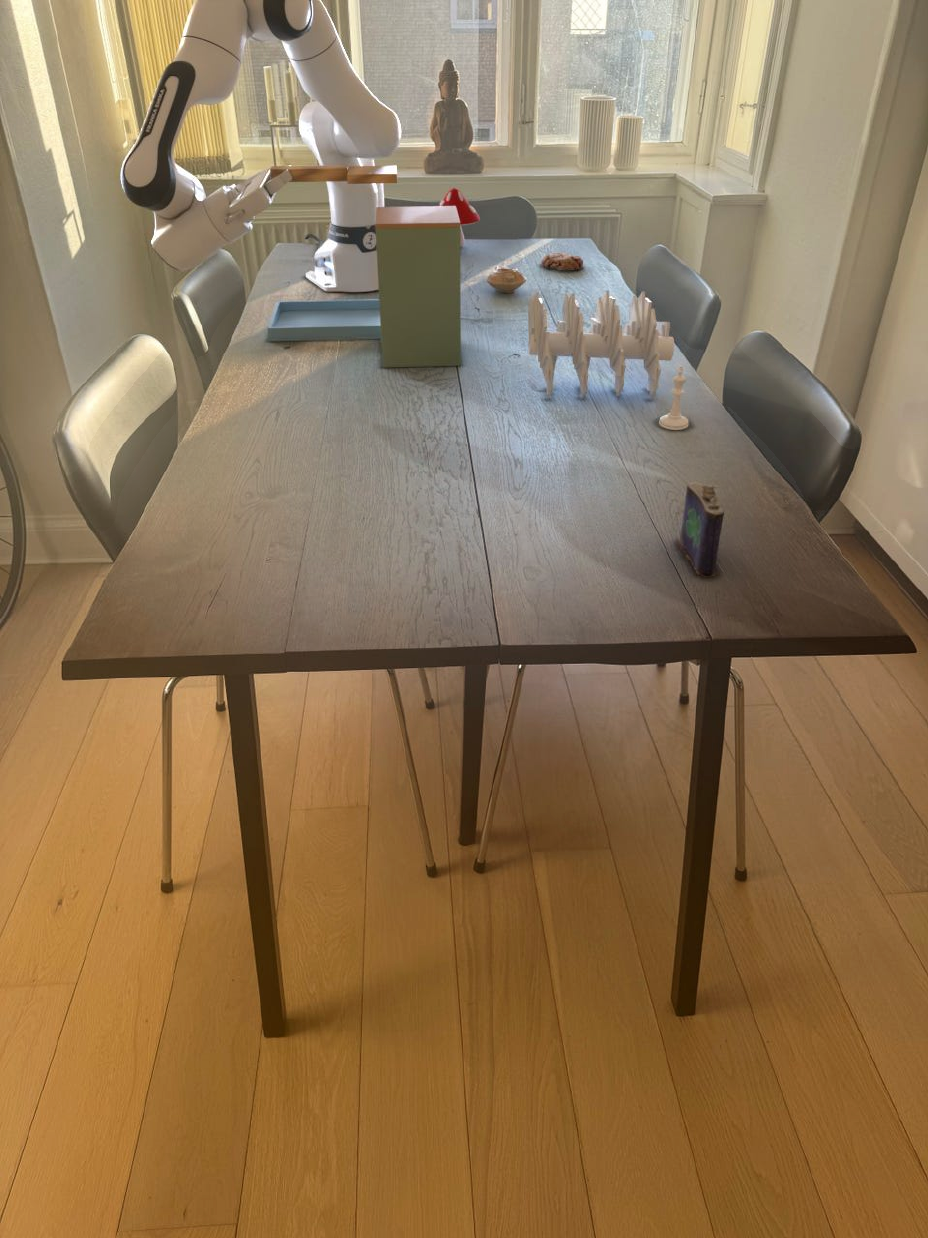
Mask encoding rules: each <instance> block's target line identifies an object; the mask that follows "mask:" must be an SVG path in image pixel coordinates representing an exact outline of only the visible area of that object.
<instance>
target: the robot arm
mask: <svg viewBox="0 0 928 1238" xmlns="http://www.w3.org/2000/svg"><path fill="white" fill-rule="evenodd" d="M247 41H253V42H261V43H263V42H275V41H276V42H277V41H281V43H282V46H283V48H284V51H285V53H286V55H287V57H288V60H289V61H290V64H291V66H292V68H293V70H294V72H295V75H296V77H297V80H298V81H299V83H300V86H301V88H302V90H303V92H305V94H306V95H307V96H308V97H309V98H311V99H312V100H313V101H310V102H308V103H306V104H305V106H303V108H302V110H301V111H300V114H299V119H298V131H299V134H300V138H301V140H302V142H303V143H304V144H305V145H306V146H307V147H308V148H309V149H310V151H311V152H312V153H313V155H314V157H315V158H316V160H317V162H318V164H319V166H331V165H348V166H362V165H361V163H360V160H359V158H363V159H374V160H379V159H385V158H389V157H392V156H393V155H394V154H395V153H396V151H397V150H398V148H399V146H400V142H401V138H402V128H401V123H400V120H399V118H398V115H397V114H396V113H395V112H394V110H393V109H391V108H389V107H388V106H386V105H385V104H384V103H382V102H381V101H380V100H379V99H378V98H377V97H376V96H375V95H374V94H373V93H372V92H371V91H370V90H369V88H368V86H367V85H366V84H365V83H364V82H363V81H362V79H361V78H360V77H359V75H358V74H357V72H356V71H355V69H354V68H353V65H352V64H351V62H350V60H349V58H348V55H347V53H346V50H345V49H344V46H343V44H342V41H341V39H340V37H339V34H338V32H337V29H336V27H335V24H334V23H333V21H332V18H331V17H330V14H329V13H328V11H327V8H326V7H325V5H324V3H323V2H322V0H194V1H193V3H192V6H191V7H190V10H189V13H188V16H187V18H186V20H185V24H184V27H183V31H182V35H181V38H180V42H179V46H178V49H177V52H176V55H175V57H174V59H173V61H172V62H170V63H168V65H167V66H166V67H165V69H164V70H163V72H162V74H161V76H160V78H159V80H158V81H157V82H158V83H157V85H156V88H155V90H154V93H153V96H152V98H151V101H150V104H149V106H148V109H147V112H146V114H145V117H144V120H143V121H142V122H143V123H142V126H141V128H140V131H139V133H138V136H137V138H136V140H135V142H134V144H133V145H132V147H131V148H130V150H129V151H128V153H127V154H126V156H125V158H124V160H123V162H122V165H121V168H120V183H121V187H122V190H123V192H124V194H125V196H126V197H127V199H128V200H129V201H130V202H132V203H133V204H134V205H136V206H139V207H140V208H143V209H146V210H149V211H151V212H152V213H153V214H154V215H153V216H154V234H153V237H152V239H151V246H152V248H153V250H154V252H155V254H157V256H158V257H159V258H160V259H161V261H163V262H164V263H165V264H166V265H167V266H168V267H170V268H172V269H174V270H176V271H179V272H185V271H188V270H191V269H193V268H195V267H197V266H200V264H202V263H204V262H206V261H208V260H209V259H211V258H212V257H214V256H215V255H216V254H217V253H218V251H219V250H220V249H221V248H224V247H225V246H229V245H231V244H233V243H234V242H236V241H238V240H239V239H240V238H242V237H244V236H245V235H246V234H248V233H250V232H251V231H252V230H253V229H254V228H253V227H254V226H253V221H254V220H256V218H257V216H258V215H260V214H261V213H263V212H264V211H266V210H267V209H268V208H270V206H271V205H272V203H273V202H274V199H275V197H276V195H277V193H278V192H279V191H280V190H282V188H283V187H284V186H286V185H287V184H288V183H290V182H289V181H291V180H292V178H293V176H292V174H291V172H290V171H289V170H285V171H283V172H282V173H281V174H280V175H278V176H276V177H275V178H273V179H272V180H271V176H270V168H271V167H268V168H266V169H263V170H262V171H259V172H258V173H256V174H254V175H252V176H250V177H248V178H247V179H245V180H243V181H241V182H239V183H238V184H235V183H232V184H230V185H222V186H221V187H219V188H218V189H216V190H215V191H213V192H212V193H210V194H209V195H207V193H206V190H205V188H204V186H203V184H202V183H201V182H200V180H199V179H198V178H197V177H196V176H195V175H194V174H192V173H191V172H189V171H188V170H187V169H185V168H183V167H182V166H180V165H179V164H177V163H176V160H175V158H174V157H175V156H174V151H175V148H176V145H177V142H178V139H179V136H180V134H181V131H182V129H183V125H184V123H185V120H186V117H187V115H188V113H189V111H190V110H192V108H194V107H195V106H197V105H202V106H203V105H204V106H212V105H217V104H220V103H222V102H224V101H226V100H227V99H228V98H230V96H231V95H232V93H233V91H234V89H235V87H236V85H237V81H238V78H239V75H240V70H241V65H242V63H243V58H244V52H245V47H246V43H247ZM287 166H292V165H290V164H288V165H287ZM325 183H326V187H327V192H328V193H327V194H328V201H329V209H330V210H329V211H330V222H327V223H325V225H327V226H326V227H325V228H326V229H328V233H327V239H326V240H325V241H323V240H322V239H321V238H319V236H317V235H315V234H313V233H307V234H306V235H305V237H304V240H309V238H312V239H313V240H314V241H316V242H317V243H318V245H317V250H316V251H315V253H314V258H313V264H314V269H312V270H309V271H307V272H305V278H306V279H307V280H309V281H310V282H312V283H313V284H315V285H316V286H317V287H319V288H320V289H322V290H323V291H325V292H331V293H333V292H343V293H365V292H374V291H379V287H378V267H377V248H376V228H375V221H376V207H378V193H377V187H376V184H348V183H347V181H326V182H325Z"/></svg>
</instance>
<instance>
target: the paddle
mask: <svg viewBox="0 0 928 1238" xmlns="http://www.w3.org/2000/svg"><path fill="white" fill-rule="evenodd" d="M269 168H270V176H271V180H272V179H273V178H275V177H276V176H278V175H280V174H281V173H282V172H283V171H285V170H289V171H290V172H291V174H292V176H293V178H292V180H291V181H289V182H288V183H312V182H313V183H314V182H315V183H316V182H318V183H319V182H321V183H322V182H323V183H324V182H325V183H326V181H347V183H348V184H378V183H383V184H398V169H397V165H375V166H348V165H331V166H320V165H291V166H288V165H272V166H270V167H269Z"/></svg>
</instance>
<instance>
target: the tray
mask: <svg viewBox="0 0 928 1238" xmlns="http://www.w3.org/2000/svg"><path fill="white" fill-rule="evenodd" d="M267 337H268V342H305V341H307V342H309V341H311V342H312V341H350V340H351V341H355V340H381V326H380V306H379V298H369V299H368V298H367V299H366V298H365V299H362V298H361V299H360V298H359V299H317V300H316V299H315V300H314V299H313V300H276V301H275V305H274V308H273V310H272V314H271V317H270V320H269V322H268V325H267Z"/></svg>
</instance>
